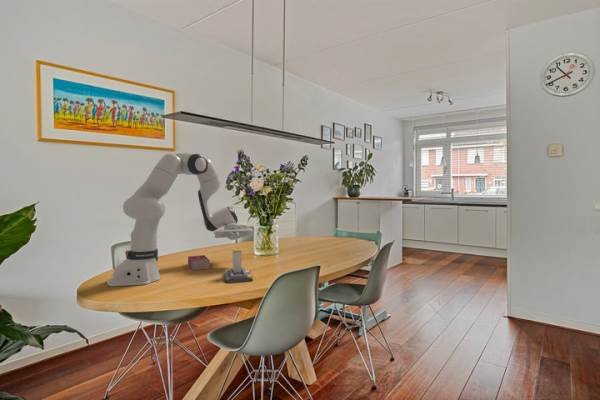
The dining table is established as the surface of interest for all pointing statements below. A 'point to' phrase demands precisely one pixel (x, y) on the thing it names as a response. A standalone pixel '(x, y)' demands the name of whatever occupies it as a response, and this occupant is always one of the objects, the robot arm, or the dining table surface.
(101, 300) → the dining table surface
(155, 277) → the robot arm
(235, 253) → the tab
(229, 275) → the switch bank
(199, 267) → the maroon box
